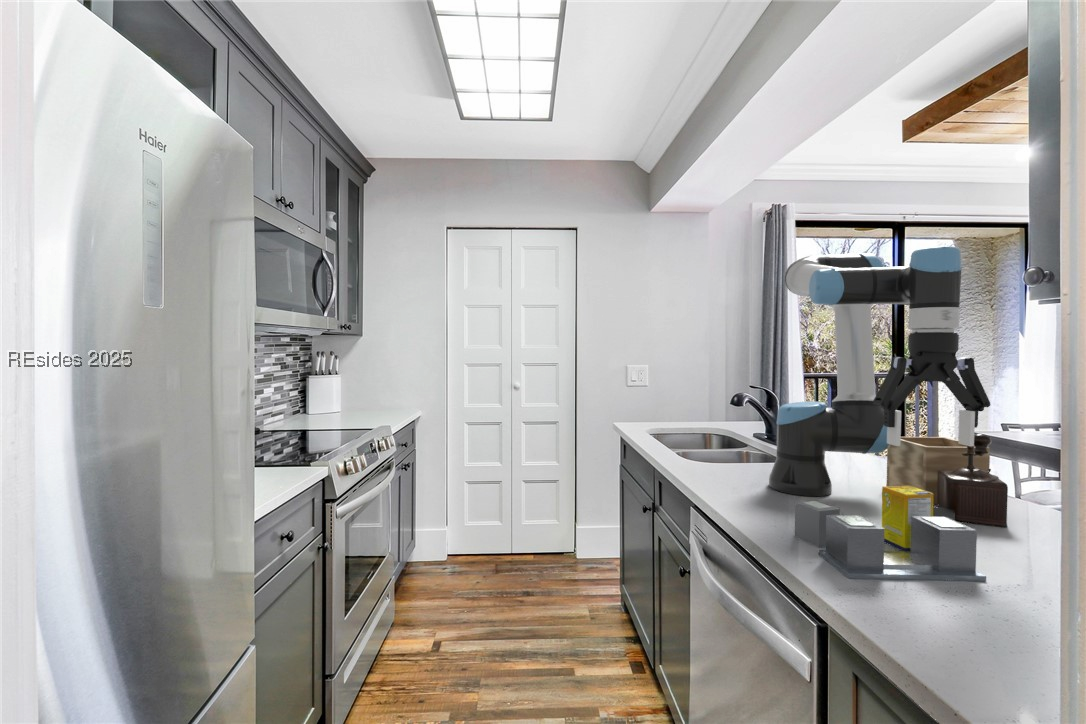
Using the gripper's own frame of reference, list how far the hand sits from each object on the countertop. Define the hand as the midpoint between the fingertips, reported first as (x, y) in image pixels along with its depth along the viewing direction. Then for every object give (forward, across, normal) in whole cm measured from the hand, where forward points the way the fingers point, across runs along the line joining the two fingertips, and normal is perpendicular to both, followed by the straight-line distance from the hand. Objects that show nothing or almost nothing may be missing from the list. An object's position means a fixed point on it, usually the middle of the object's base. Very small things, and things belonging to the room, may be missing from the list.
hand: (929, 445), depth 97 cm
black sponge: (+20, +8, +10) cm, 25 cm away
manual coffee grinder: (+20, +25, +21) cm, 38 cm away
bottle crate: (+20, +28, +36) cm, 50 cm away
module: (+20, -19, +4) cm, 28 cm away
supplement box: (+20, -3, +2) cm, 20 cm away
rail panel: (+20, -11, -8) cm, 24 cm away
